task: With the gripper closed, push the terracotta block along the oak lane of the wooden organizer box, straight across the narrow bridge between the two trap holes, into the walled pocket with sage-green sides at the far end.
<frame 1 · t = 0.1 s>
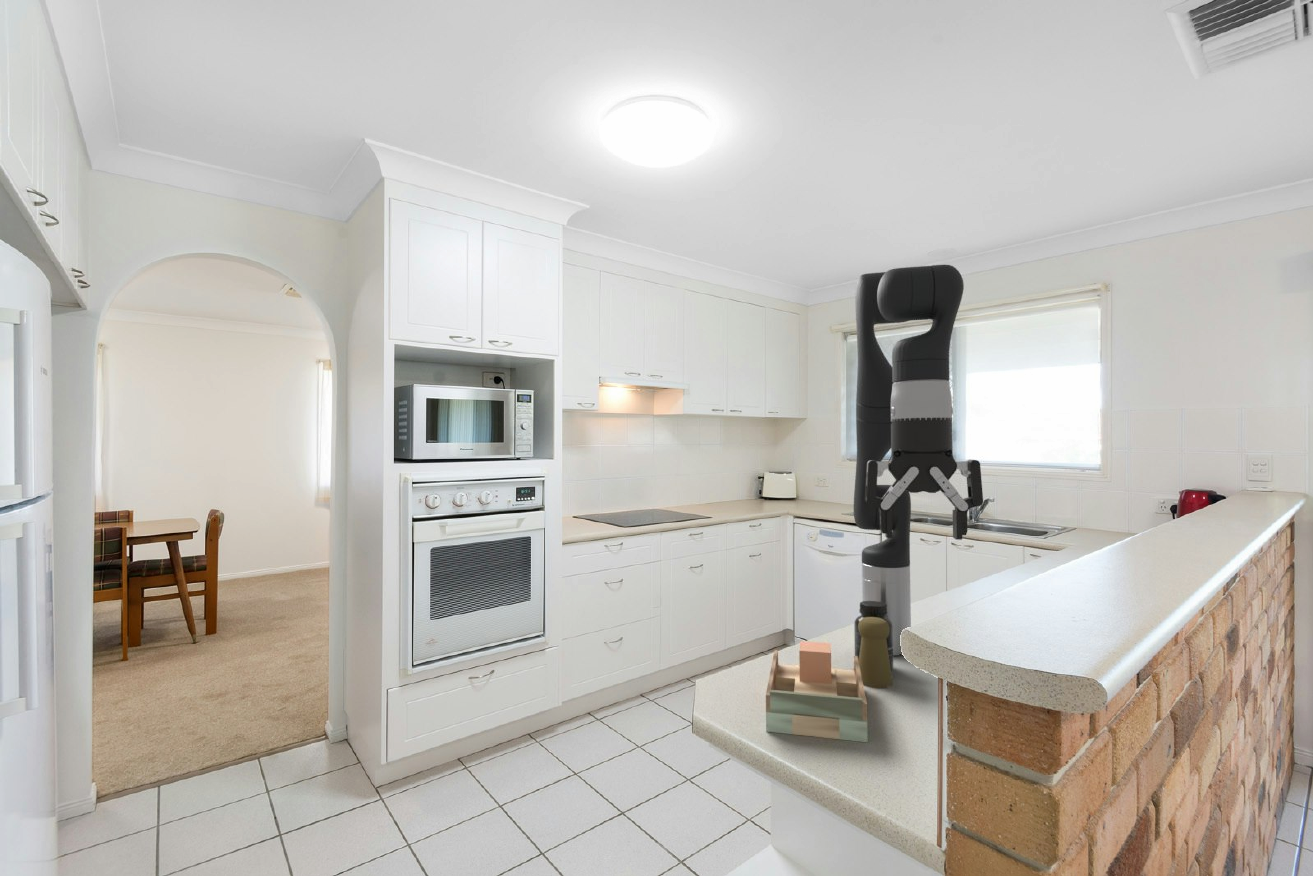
hand: (922, 538, 82), 29 cm above the worktop, tool pointing down, fingers open, 8 cm apart
cork: (874, 682, 108), on the worktop
block: (815, 677, 102), point 3 cm above the worktop, touching wooden organizer box
supplement bottle: (874, 669, 114), on the worktop
wooden organizer box: (815, 707, 98), on the worktop
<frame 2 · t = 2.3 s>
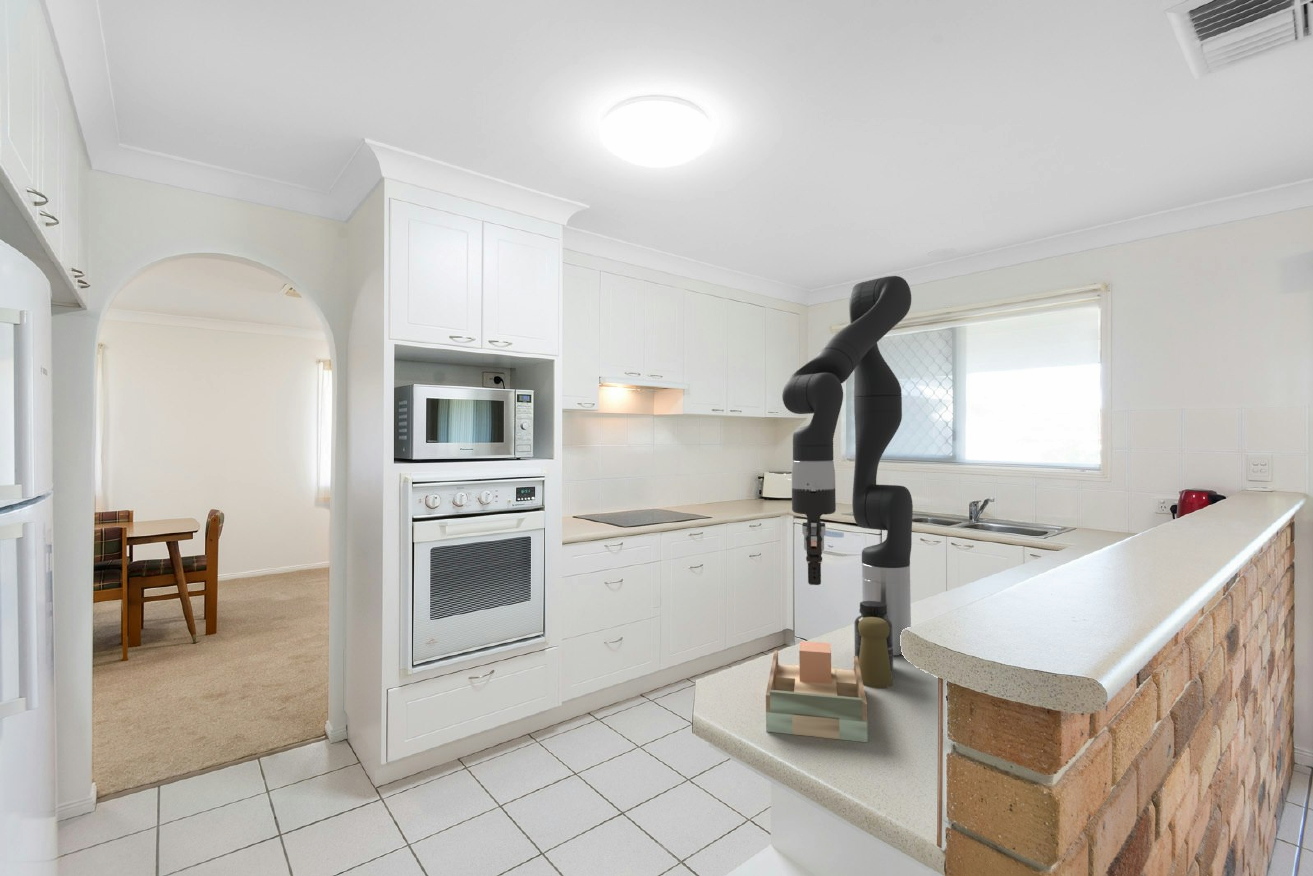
hand: (814, 583, 109), 17 cm above the worktop, tool pointing down, fingers closed
nothing on the worktop moved.
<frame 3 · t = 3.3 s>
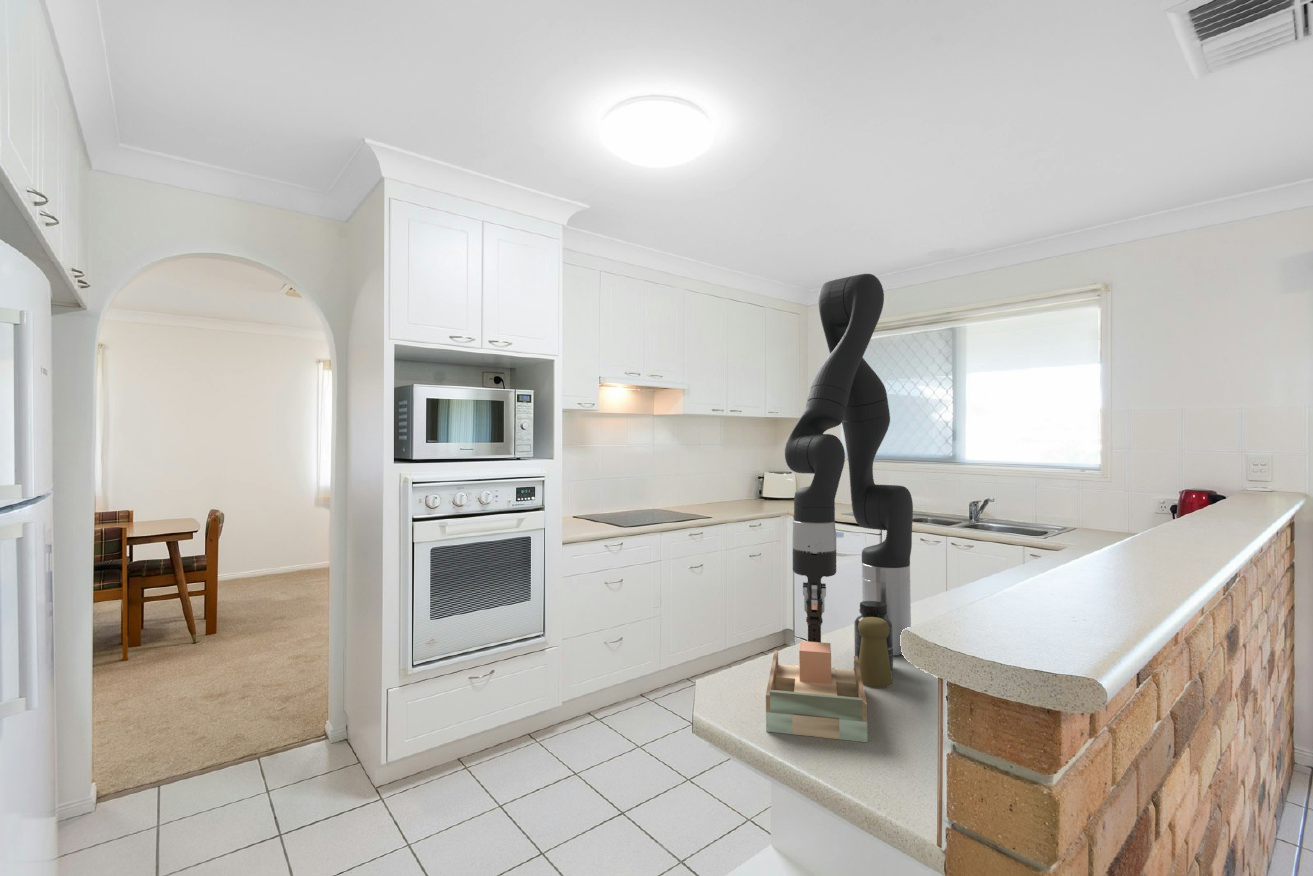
hand: (814, 645, 109), 6 cm above the worktop, tool pointing down, fingers closed
nothing on the worktop moved.
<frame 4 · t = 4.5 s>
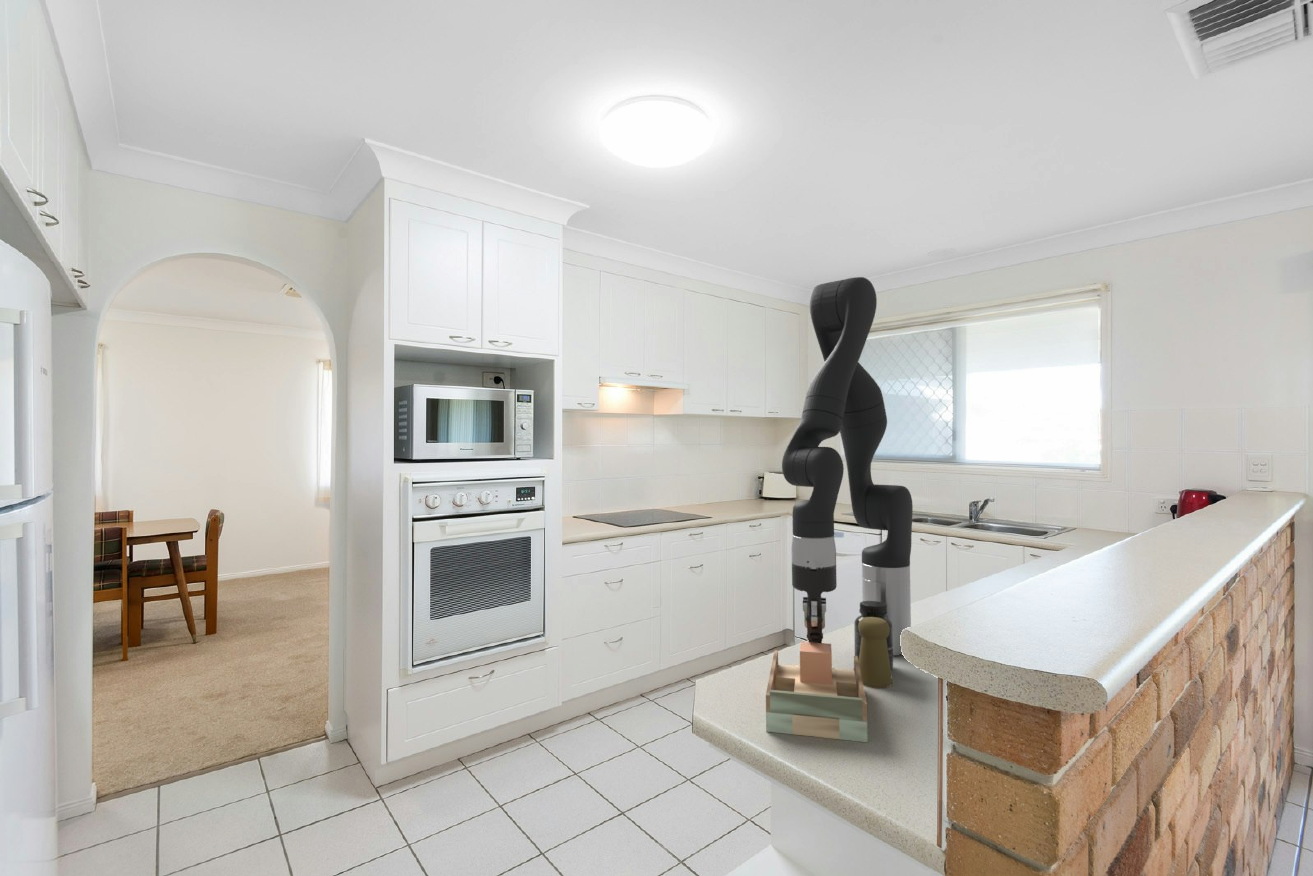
hand: (815, 660, 107), 4 cm above the worktop, tool pointing down, fingers closed
block: (816, 677, 102), point 3 cm above the worktop, touching gripper
everything else where it was.
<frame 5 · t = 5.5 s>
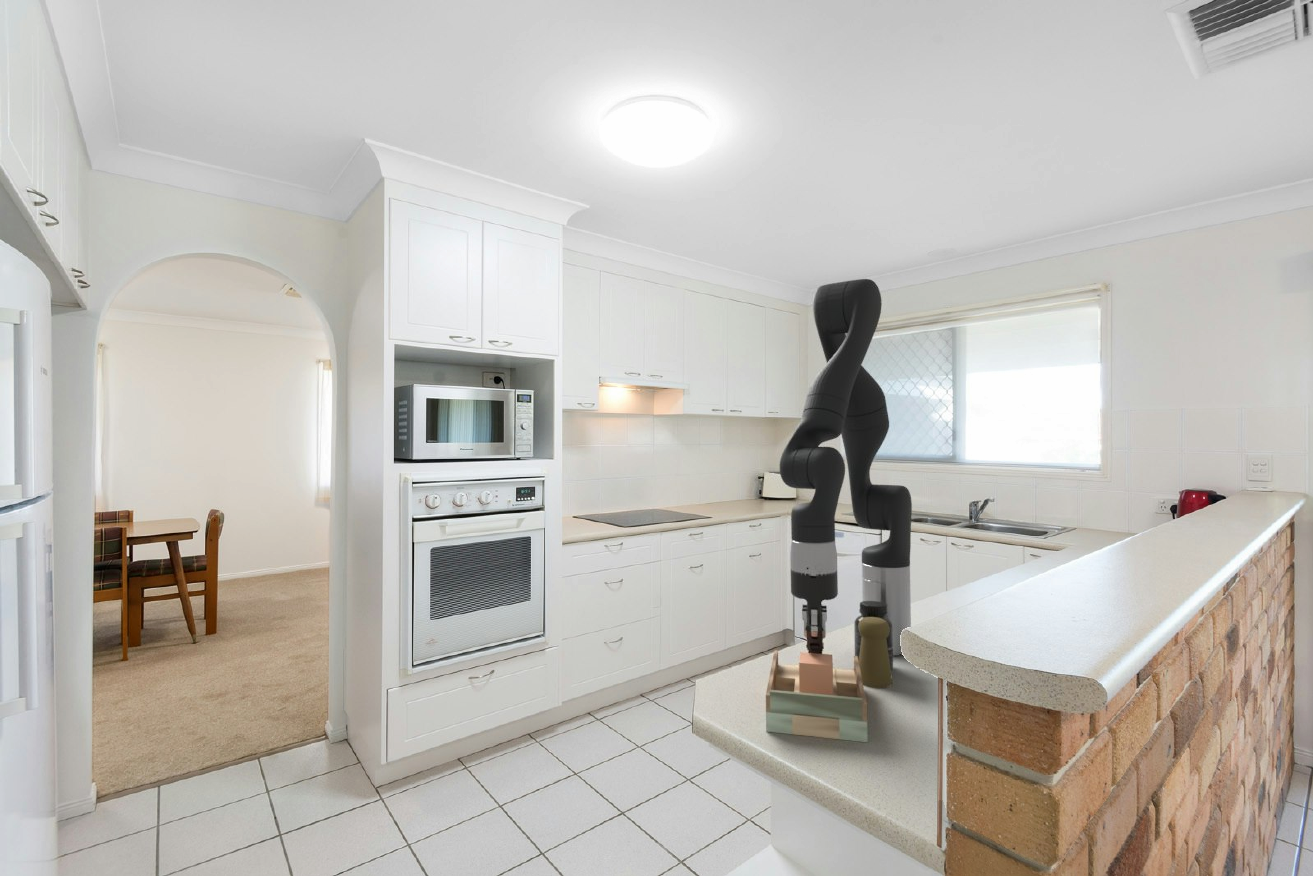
hand: (815, 671, 102), 4 cm above the worktop, tool pointing down, fingers closed
block: (816, 690, 97), point 3 cm above the worktop, touching gripper
everything else where it was.
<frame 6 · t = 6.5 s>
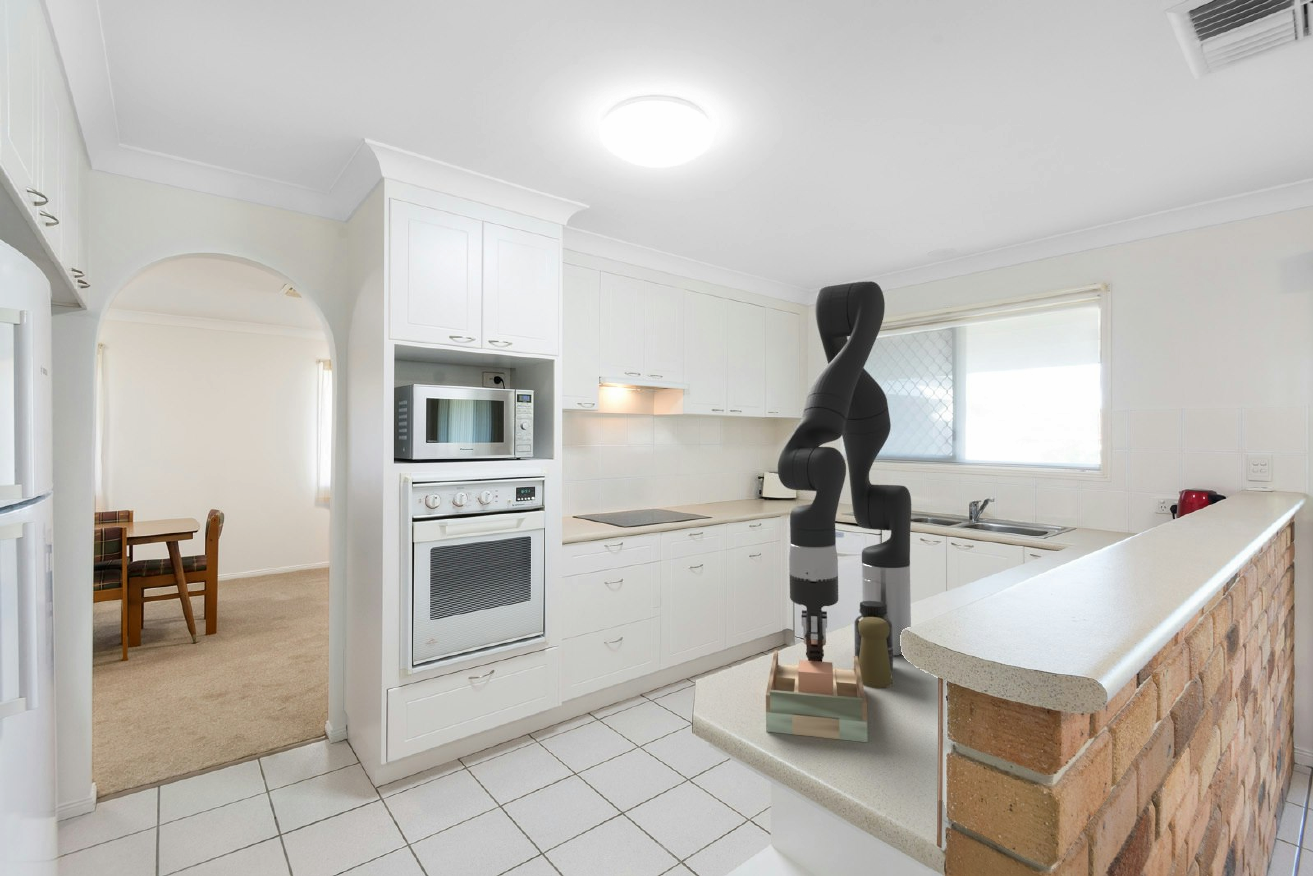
hand: (815, 679, 98), 4 cm above the worktop, tool pointing down, fingers closed
block: (816, 700, 93), point 3 cm above the worktop, touching wooden organizer box, gripper
everything else where it was.
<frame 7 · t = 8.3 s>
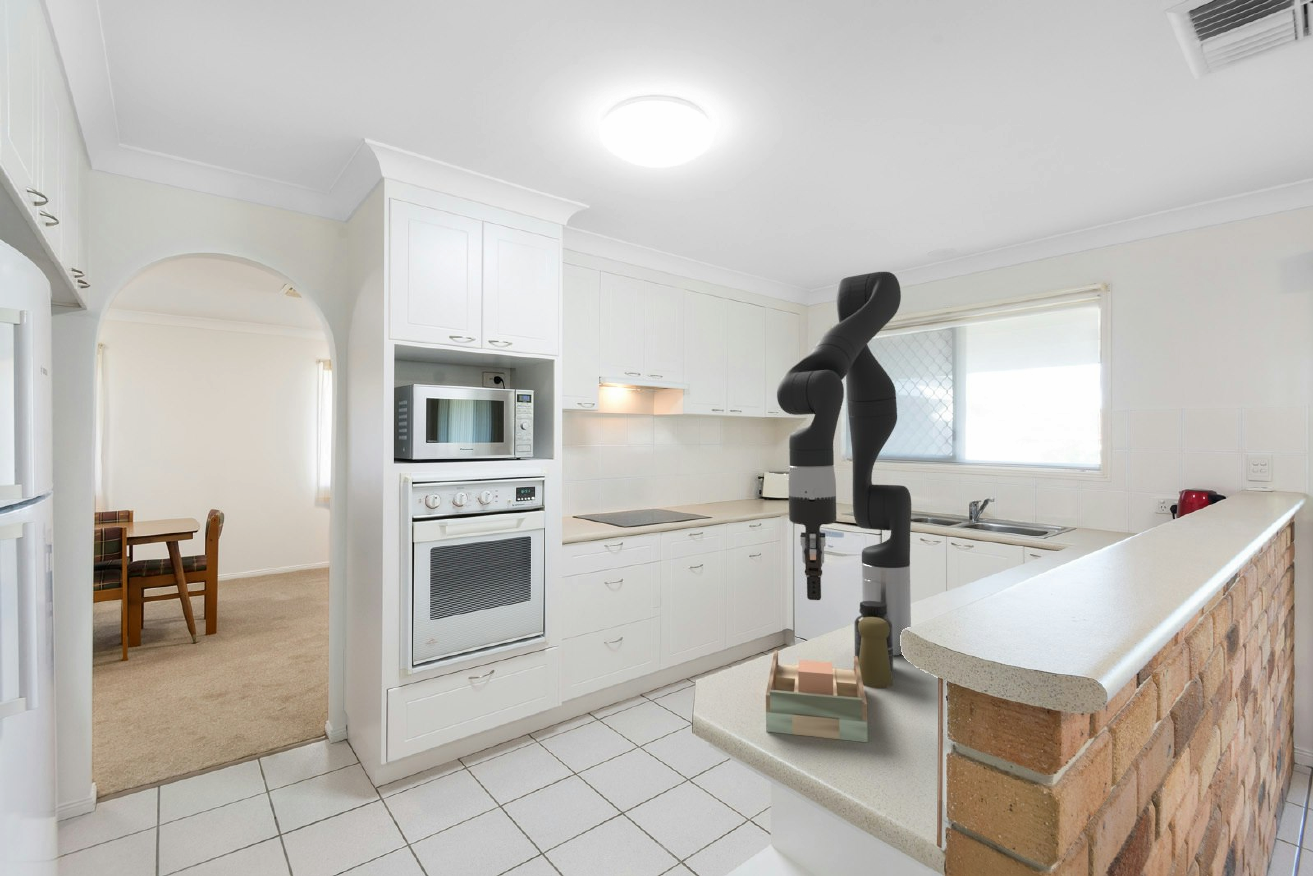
hand: (814, 598, 101), 16 cm above the worktop, tool pointing down, fingers closed
block: (816, 700, 93), point 3 cm above the worktop, touching wooden organizer box
everything else where it was.
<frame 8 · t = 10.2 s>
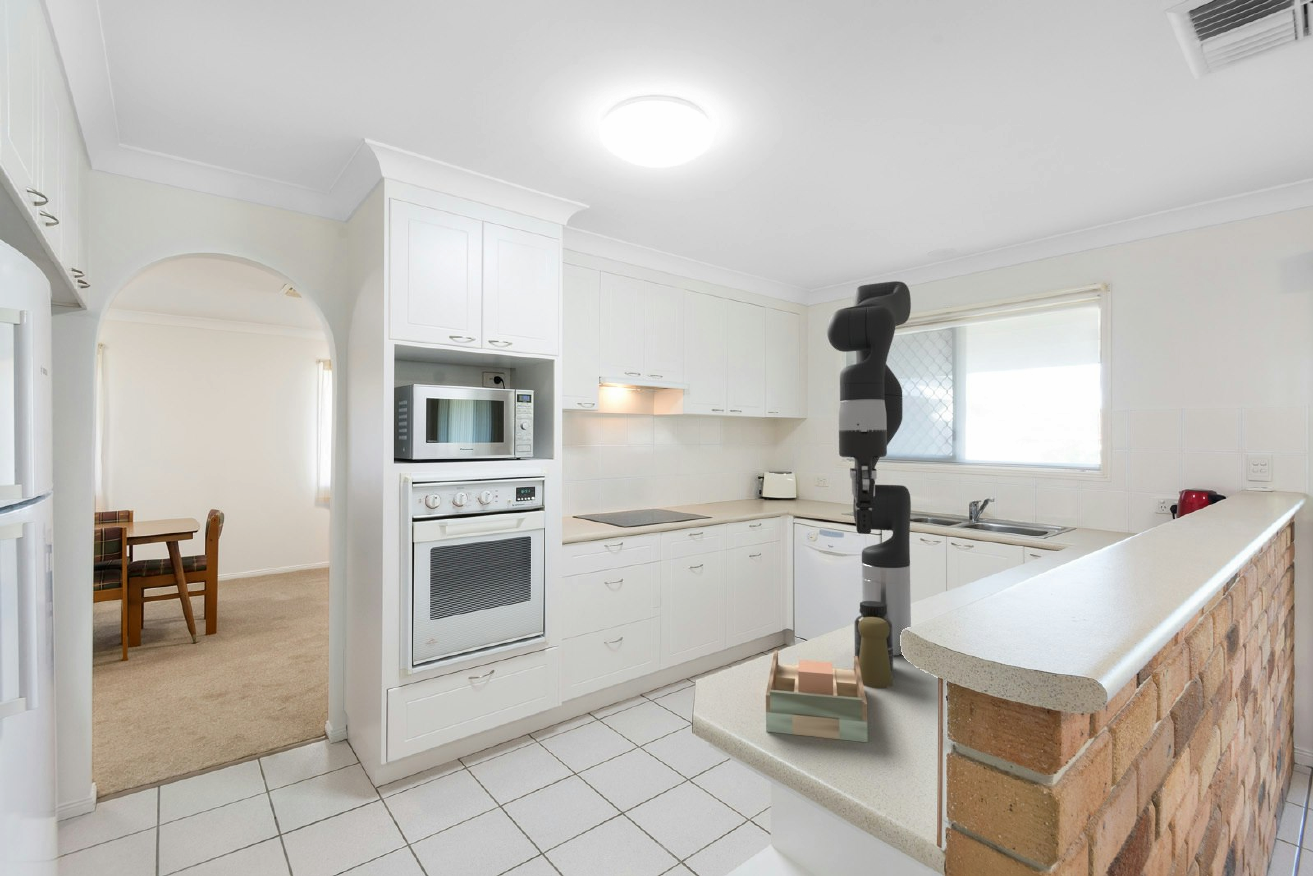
hand: (863, 533, 102), 27 cm above the worktop, tool pointing down, fingers closed
nothing on the worktop moved.
at the end: block inside the target area on the wooden organizer box (1.9 cm from its centre), point 3.0 cm above the wooden organizer box's base; block tilted 0° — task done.
